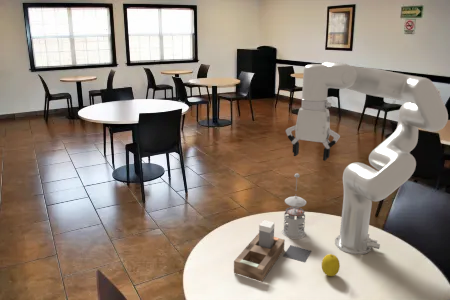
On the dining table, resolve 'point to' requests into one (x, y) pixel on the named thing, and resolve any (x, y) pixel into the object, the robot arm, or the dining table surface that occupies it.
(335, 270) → the lemon
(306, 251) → the mat
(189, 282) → the dining table surface
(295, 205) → the french press
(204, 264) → the dining table surface
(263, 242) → the plug
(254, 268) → the socket block
